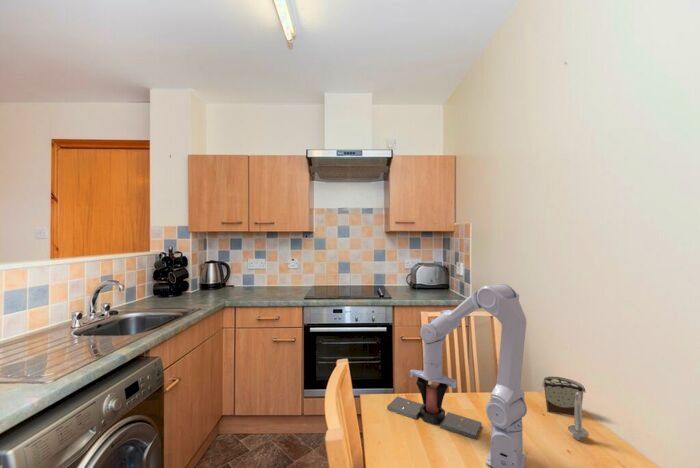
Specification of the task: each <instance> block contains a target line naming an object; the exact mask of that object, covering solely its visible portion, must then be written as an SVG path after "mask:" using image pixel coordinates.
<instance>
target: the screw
mask: <svg viewBox="0 0 700 468" xmlns="http://www.w3.org/2000/svg"><path fill="white" fill-rule="evenodd" d="M574 401H575V402H574V403H575V407H574V408H575V409H574V410H575V411H574V412H575V413H574V414H575V415H574V416H573V417H574V421H573V422H574V424H573V425H569V426H568V427H567V430H568V432H569V433H571V434H572V437H573V439H575V440H577V441H582V442H584V441H585V438H587V437H589V436H590V433H589V431H588V430H587V429H585V428H583V400H582V401H581V395H580V393H579V392H576V393H575V400H574ZM581 402H582V403H581ZM581 404H582V405H581Z"/></svg>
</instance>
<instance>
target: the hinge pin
mask: <svg viewBox="0 0 700 468" xmlns="http://www.w3.org/2000/svg"><path fill="white" fill-rule="evenodd" d="M437 386H438V385H437V384H431V383H430V384H429V383H428V385H426V412H427V413H430V414H433V415H434V414H439V408H437V402H438V396H437Z"/></svg>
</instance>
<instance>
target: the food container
mask: <svg viewBox="0 0 700 468" xmlns="http://www.w3.org/2000/svg"><path fill="white" fill-rule="evenodd" d="M541 387H542V388H544V397H545V398H544V399H545V406H546V411H547V413H550V414H557V415H563V416H571V417H575V416H574V415H575V414H574V413H575V412H574V411H575V410H574V409H575V408H574V407H575V403H574V402H575V401H574V400H575V393H576V392H579V393H580V395H581V401H582V402H581V403H582V404H581V405H582V406H583V399H584V394H585V393H586V388H585V387H584V385H583V384H582V383H581V382H578V381H575V380H572V379H570V378H566V377H560V376H545V377H544V378H543V380H542V384H541Z"/></svg>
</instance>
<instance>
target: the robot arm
mask: <svg viewBox="0 0 700 468" xmlns="http://www.w3.org/2000/svg"><path fill="white" fill-rule="evenodd" d="M479 309H483V310H484V311H486V312H488V314H490V315H491V316H493V317H495V318H496V319H497V320H498V321H499V323H500V324H501V332H500V345H499V354H498V355H499V356H498V365H497V375H496V376H497V377H496V384H495V386H494V388H493V390H492V391H491V393H490V399H489V401H488V402H487V403H486V405H485V406H486V407H485V413H486V416H487V418H488V420H489V422H490V449H489V452H488V454H487V459H486V461H485V464H486V465H487V466H489V467H492V468H525V463H526V454H525V453H523V451H524V450H523V444H524V443H523V442H524V441H523V438H524V437H523V435H524V433H523V427H524V426H523V417H525V416H527V411H528V407H527V406H528V405H527V402H526V400H525V391H523V390H522V389H521V383H522V382H521V381H522V373H523V361H524V351H525V341H526V333H527V331H526V330H527V318H526V315H525V313H524V310H523V307H522V305H521V303H520V294H519V293H518V292H517V291H516V290H515V289H514V288H513V287H512V286H511V285H509V284H505V283H500V284H497V285H496V284H495V285H483V286H482V287H480V288H478V290H475V291H473V292H472V293H471V294H470V295H469V296H468V297H467V298H465V300H464V301H462V302H461V303H459V305H457V306H456V307H455V308H454V309H453V310H452V309H443V310H441V311H440V312H439V313H440V315H438V316H437V317H436V318H432V319H430V321H431V322H430V323H423V324H422V325H421V326H420V330H419V335H420V338H421V339H422V341H423V370H418V369H411V370H409V377H410V378H416V379H417V380H416V386H417V388H418V389H419V391H420V392H419V393H420V394H421V399H422V404H426V385H428V384H429V382H432V383H436V384H438V385H437V396H438V402H437V408H439V409H440V408H441V407H442V405H443V401H444V398H445V395H446V392H447V391H448V388H449V387H451V389H456V388H457V385H458V383H457V382H458V381H457V379H454V378H451V377H449V376H446V375H444V374H443V345H444V340H445V339H446V337H447V335H449V334H451V333H452V332H453V331H455V330H457V328H459V327H460V325H461V320H463V319H464V318H465V317H467V316H469V315H471V314H472V313H474V312H475V311H476V310H479Z"/></svg>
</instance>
